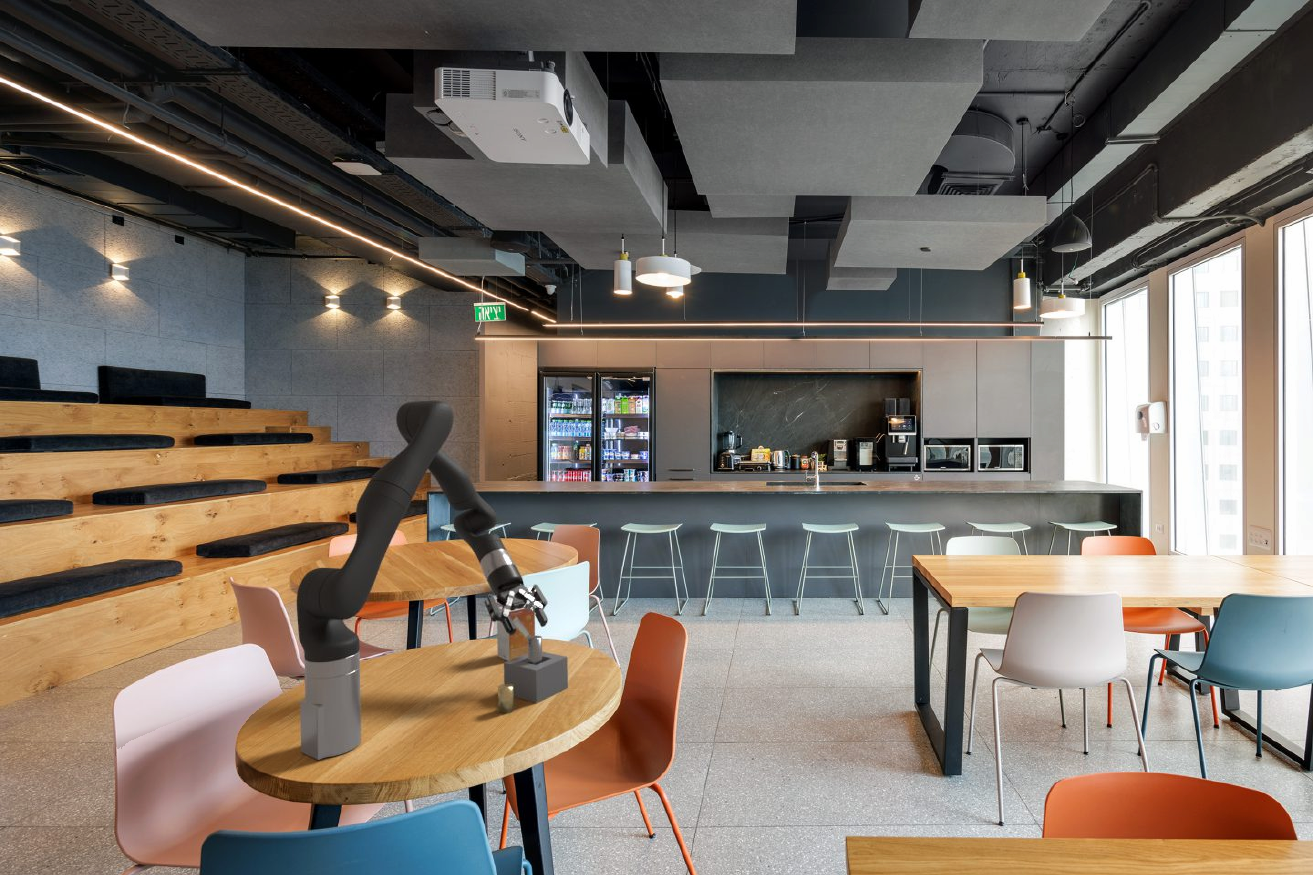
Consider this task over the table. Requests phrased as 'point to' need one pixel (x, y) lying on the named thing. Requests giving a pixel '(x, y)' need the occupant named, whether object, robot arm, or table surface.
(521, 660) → the collar block
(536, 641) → the grey metal rod
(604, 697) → the table surface
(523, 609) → the small box
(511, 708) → the brass pin
